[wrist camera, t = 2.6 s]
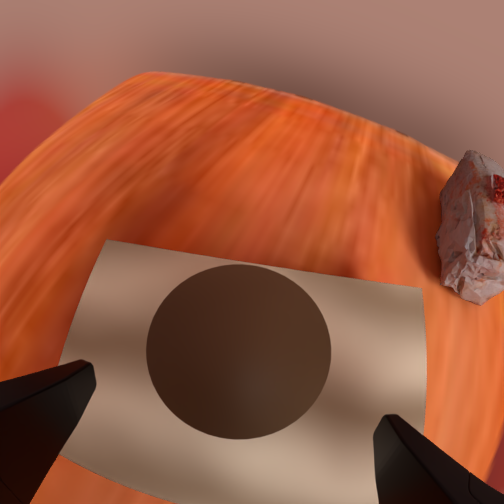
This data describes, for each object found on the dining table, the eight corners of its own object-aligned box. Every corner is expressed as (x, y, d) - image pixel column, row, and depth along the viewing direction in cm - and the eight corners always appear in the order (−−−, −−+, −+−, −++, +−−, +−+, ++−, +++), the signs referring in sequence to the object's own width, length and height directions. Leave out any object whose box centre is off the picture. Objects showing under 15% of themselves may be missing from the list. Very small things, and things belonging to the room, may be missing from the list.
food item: (486, 320, 20) (557, 267, 11) (425, 296, 21) (496, 226, 13) (478, 217, 26) (519, 160, 18) (426, 192, 28) (463, 124, 20)
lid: (399, 505, 9) (518, 536, 1) (53, 443, 10) (-73, 425, 2) (412, 296, 15) (501, 201, 8) (113, 250, 17) (52, 136, 9)
